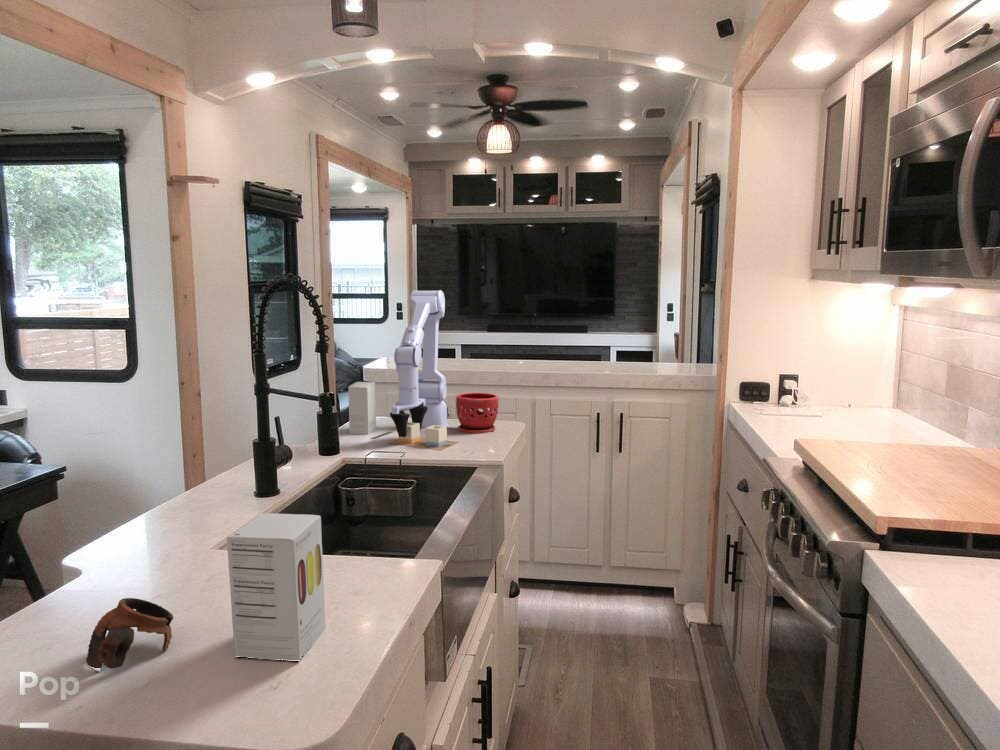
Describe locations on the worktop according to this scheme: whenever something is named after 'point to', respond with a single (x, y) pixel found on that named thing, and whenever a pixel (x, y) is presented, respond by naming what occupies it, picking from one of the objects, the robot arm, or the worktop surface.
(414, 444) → the pin board
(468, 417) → the plant pot
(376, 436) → the mat
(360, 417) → the skincare box
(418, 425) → the cream square sleeve
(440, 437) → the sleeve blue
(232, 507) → the worktop surface
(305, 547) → the supplement box
